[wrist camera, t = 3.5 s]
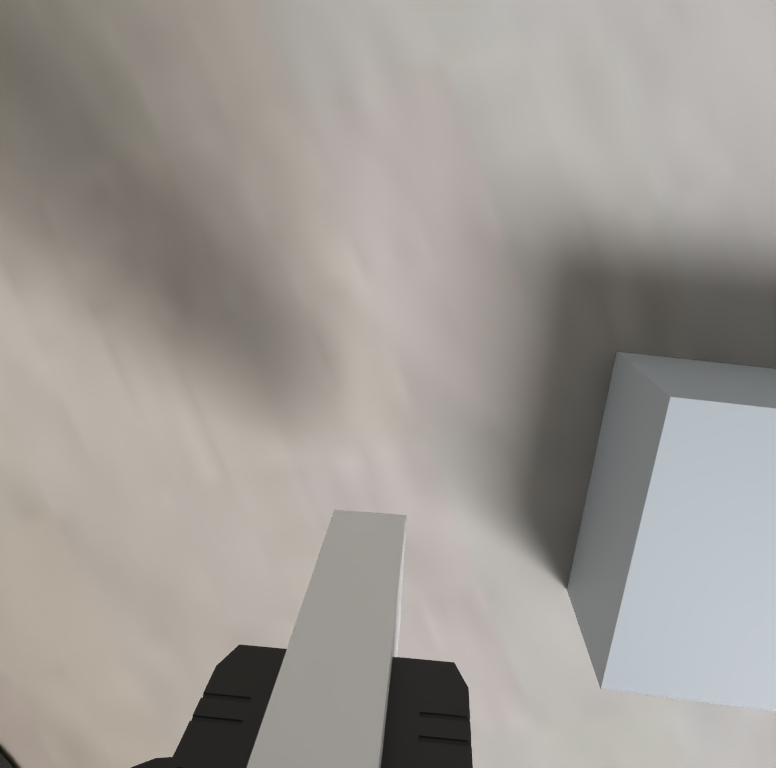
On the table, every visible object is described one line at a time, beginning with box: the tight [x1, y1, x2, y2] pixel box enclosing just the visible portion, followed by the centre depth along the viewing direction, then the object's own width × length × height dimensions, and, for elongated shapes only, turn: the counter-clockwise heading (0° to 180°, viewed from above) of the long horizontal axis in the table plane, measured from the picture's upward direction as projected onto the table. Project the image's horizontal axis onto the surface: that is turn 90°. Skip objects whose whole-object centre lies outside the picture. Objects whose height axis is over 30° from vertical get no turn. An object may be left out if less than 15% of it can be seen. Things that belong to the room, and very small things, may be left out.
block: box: [567, 352, 776, 712], centre depth 15 cm, size 7×7×4 cm
